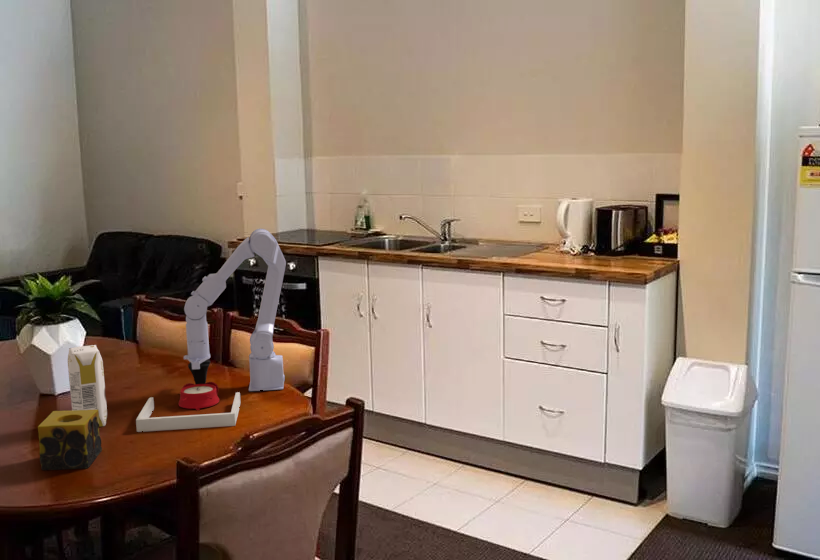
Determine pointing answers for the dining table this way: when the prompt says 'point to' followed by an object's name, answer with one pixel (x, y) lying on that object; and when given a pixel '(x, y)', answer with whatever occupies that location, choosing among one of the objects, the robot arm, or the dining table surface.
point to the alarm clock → (198, 395)
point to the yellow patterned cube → (69, 440)
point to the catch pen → (185, 419)
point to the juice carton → (87, 381)
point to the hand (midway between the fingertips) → (200, 387)
